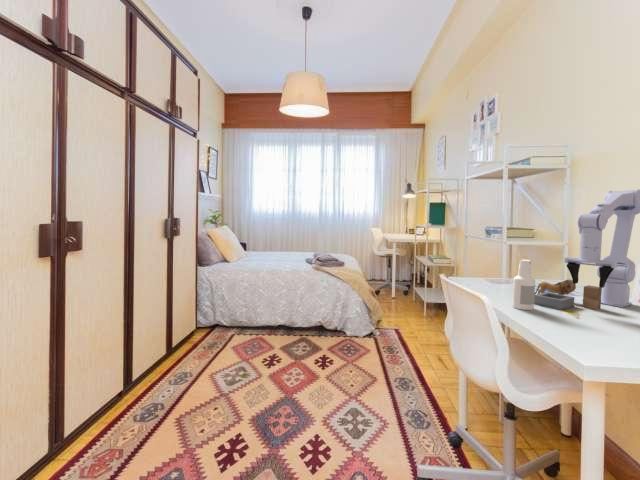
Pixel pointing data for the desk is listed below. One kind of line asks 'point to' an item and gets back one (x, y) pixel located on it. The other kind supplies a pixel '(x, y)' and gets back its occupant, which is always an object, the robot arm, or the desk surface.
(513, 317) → the desk surface
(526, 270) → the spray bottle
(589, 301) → the walnut block
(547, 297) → the square well
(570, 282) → the lion figurine
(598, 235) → the robot arm
